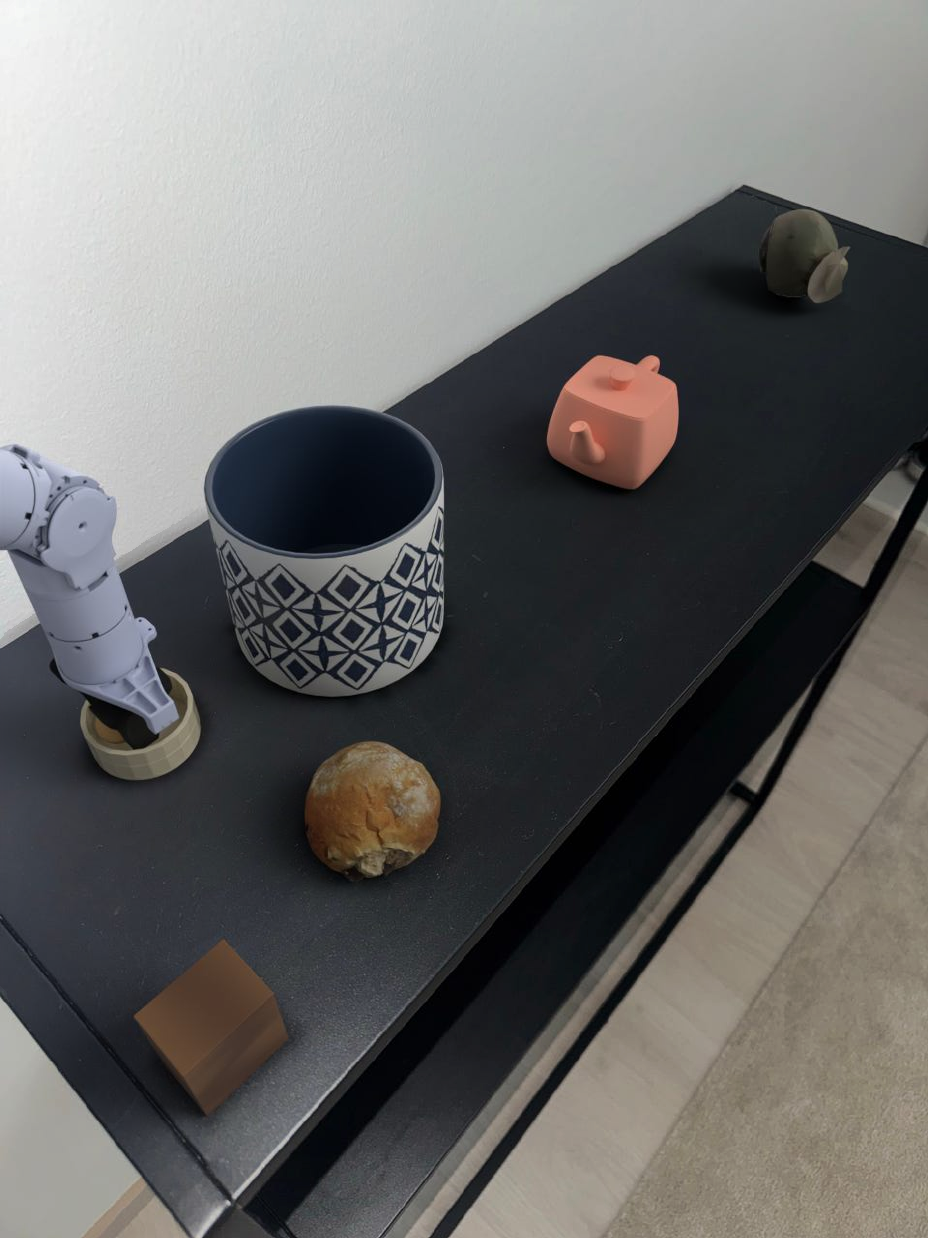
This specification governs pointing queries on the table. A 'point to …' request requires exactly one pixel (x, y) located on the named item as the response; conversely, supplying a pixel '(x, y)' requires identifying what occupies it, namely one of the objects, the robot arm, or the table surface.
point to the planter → (330, 546)
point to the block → (214, 1026)
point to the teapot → (615, 421)
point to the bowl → (158, 755)
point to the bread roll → (371, 810)
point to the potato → (108, 733)
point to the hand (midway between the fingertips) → (132, 728)
